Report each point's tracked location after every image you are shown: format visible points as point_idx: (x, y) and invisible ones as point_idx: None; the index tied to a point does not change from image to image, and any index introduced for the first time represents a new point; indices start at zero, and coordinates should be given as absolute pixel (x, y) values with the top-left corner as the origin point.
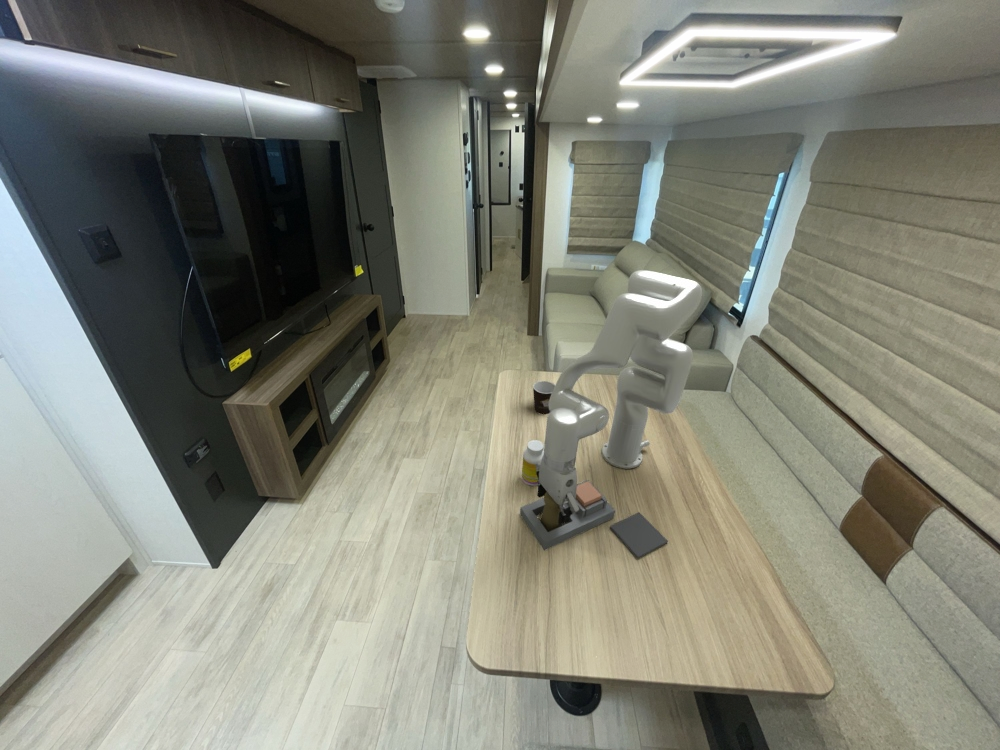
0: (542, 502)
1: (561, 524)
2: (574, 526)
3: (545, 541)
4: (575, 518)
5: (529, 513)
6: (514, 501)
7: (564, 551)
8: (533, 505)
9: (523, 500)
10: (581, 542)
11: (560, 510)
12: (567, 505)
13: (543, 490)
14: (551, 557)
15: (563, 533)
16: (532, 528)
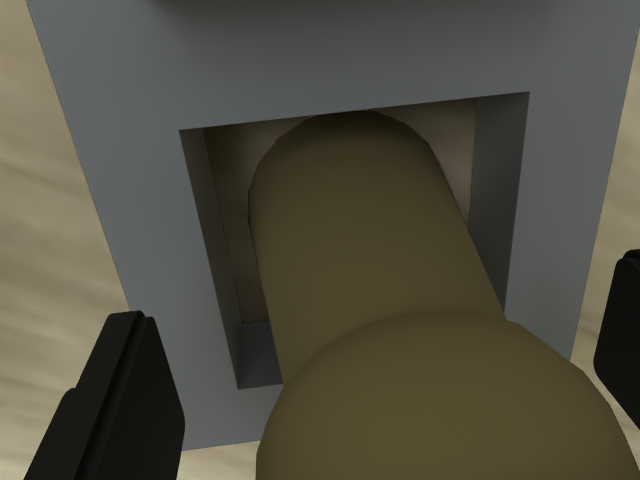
0: (171, 280)
1: (442, 174)
2: (594, 111)
3: None
4: (520, 39)
5: (263, 413)
6: (48, 378)
7: (605, 224)
8: (188, 365)
9: (47, 319)
10: (636, 53)
11: (502, 311)
12: (305, 29)
13: (151, 473)
14: (584, 316)
15: (584, 249)
16: None
